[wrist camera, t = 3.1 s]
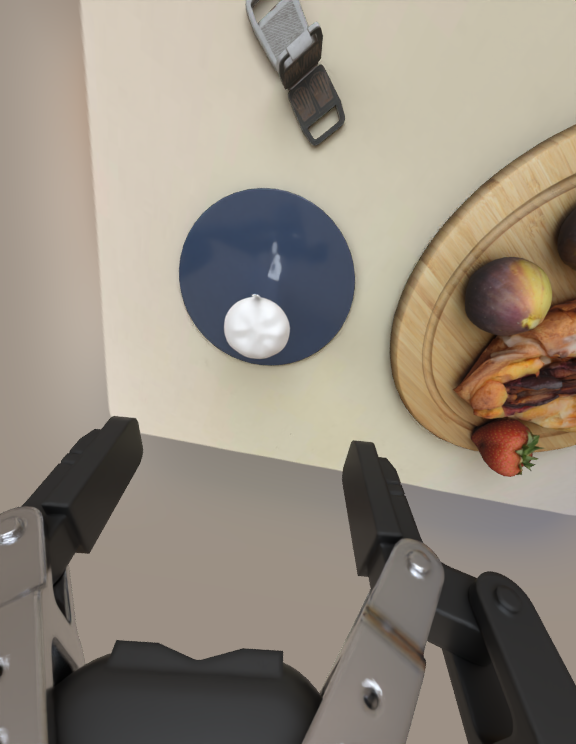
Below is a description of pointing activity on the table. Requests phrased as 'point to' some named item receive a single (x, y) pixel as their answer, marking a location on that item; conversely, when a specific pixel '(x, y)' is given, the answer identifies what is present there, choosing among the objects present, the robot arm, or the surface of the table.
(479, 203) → the wooden plate
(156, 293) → the table surface
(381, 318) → the table surface
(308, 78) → the strap clip
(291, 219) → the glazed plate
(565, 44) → the table surface
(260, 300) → the milkshake
